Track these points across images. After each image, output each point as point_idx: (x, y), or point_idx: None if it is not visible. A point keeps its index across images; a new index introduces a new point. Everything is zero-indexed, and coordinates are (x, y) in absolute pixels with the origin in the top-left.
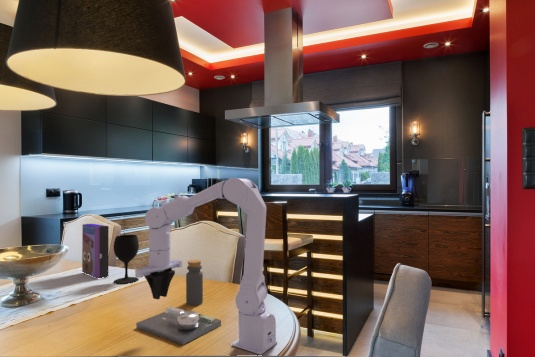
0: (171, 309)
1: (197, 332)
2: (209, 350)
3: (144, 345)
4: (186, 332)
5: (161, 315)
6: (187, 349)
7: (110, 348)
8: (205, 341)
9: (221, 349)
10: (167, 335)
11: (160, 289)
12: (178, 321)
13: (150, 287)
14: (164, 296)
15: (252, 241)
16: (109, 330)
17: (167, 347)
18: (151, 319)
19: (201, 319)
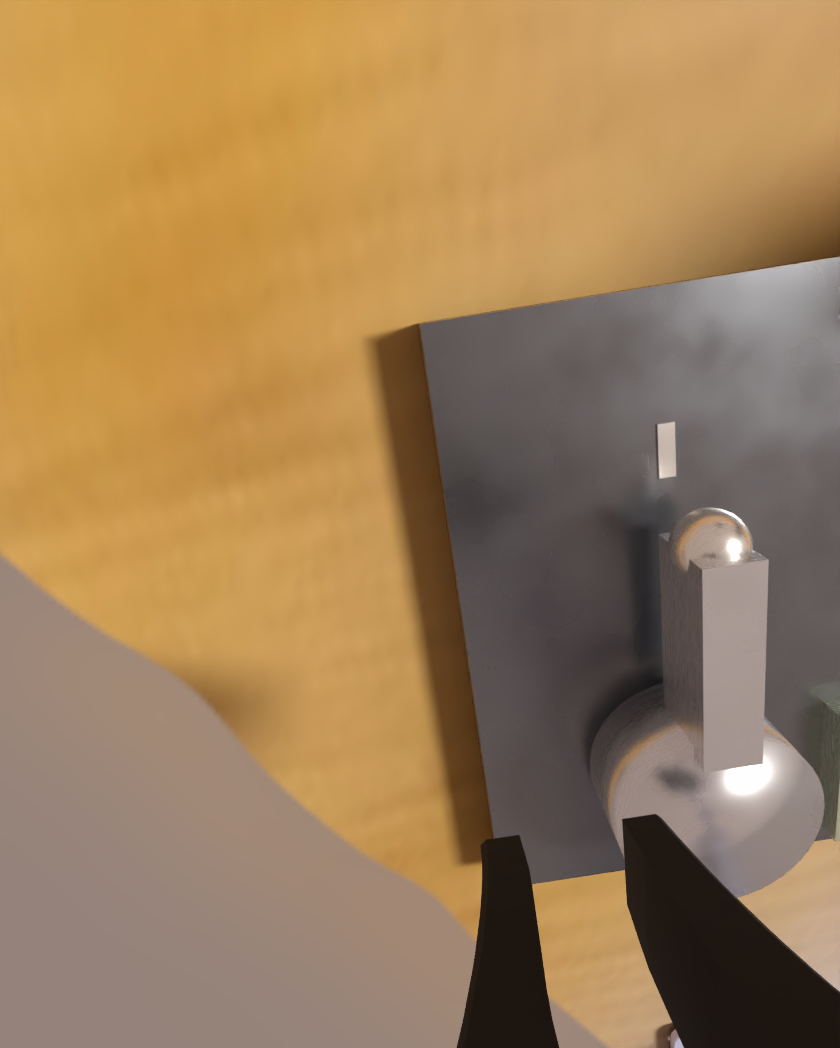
0: (704, 652)
1: None
2: (555, 988)
3: (310, 688)
4: (590, 824)
5: (711, 341)
6: (480, 908)
7: (91, 553)
8: (621, 901)
9: (605, 1017)
10: (480, 744)
11: (669, 910)
12: (610, 790)
13: (465, 1022)
14: (630, 902)
15: None
16: (192, 146)
17: (409, 814)
18: (576, 362)
19: (828, 740)
